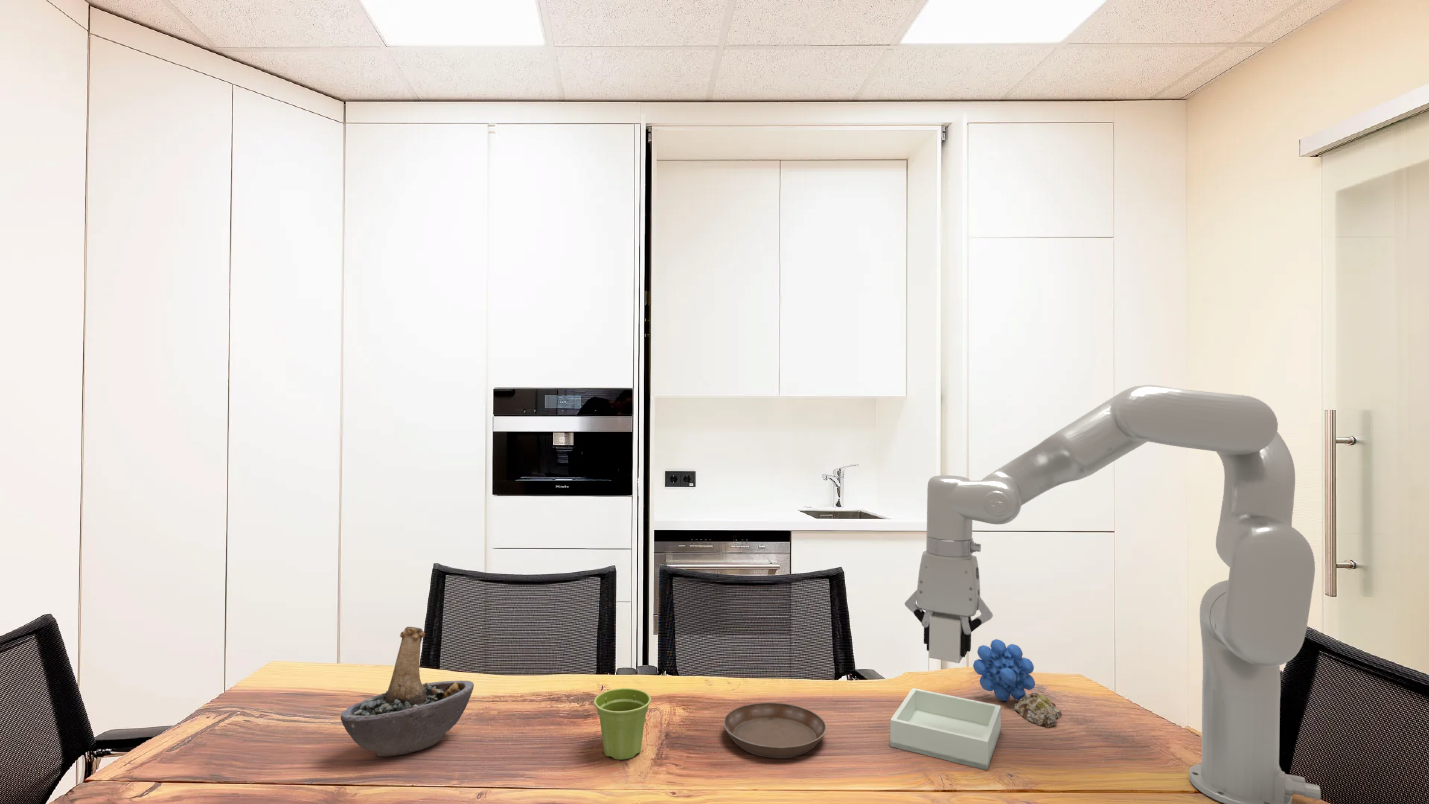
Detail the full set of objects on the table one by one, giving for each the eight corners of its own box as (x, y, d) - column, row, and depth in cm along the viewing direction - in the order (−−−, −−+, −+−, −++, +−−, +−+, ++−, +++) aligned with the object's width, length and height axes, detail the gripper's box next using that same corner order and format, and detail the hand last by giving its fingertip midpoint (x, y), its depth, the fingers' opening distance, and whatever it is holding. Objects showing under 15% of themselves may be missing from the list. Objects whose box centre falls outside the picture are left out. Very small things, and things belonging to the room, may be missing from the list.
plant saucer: (753, 709, 137) (753, 693, 137) (841, 732, 127) (841, 715, 127) (704, 747, 121) (704, 729, 121) (800, 776, 112) (800, 757, 112)
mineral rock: (1007, 690, 141) (1049, 683, 139) (1013, 712, 141) (1055, 704, 139) (1020, 716, 130) (1066, 708, 129) (1026, 740, 130) (1072, 732, 129)
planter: (477, 732, 125) (479, 617, 125) (413, 781, 109) (414, 650, 109) (406, 721, 129) (406, 610, 129) (333, 766, 113) (334, 640, 113)
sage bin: (1000, 731, 128) (1000, 705, 128) (987, 770, 114) (987, 742, 114) (912, 711, 136) (912, 687, 136) (890, 746, 122) (890, 719, 122)
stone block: (964, 654, 126) (965, 614, 126) (959, 663, 122) (959, 622, 122) (935, 649, 128) (936, 609, 128) (929, 657, 124) (929, 617, 124)
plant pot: (596, 769, 113) (597, 714, 113) (590, 741, 123) (591, 690, 122) (655, 761, 116) (655, 708, 116) (645, 735, 125) (645, 685, 125)
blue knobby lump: (977, 708, 137) (978, 645, 137) (970, 693, 144) (970, 634, 144) (1041, 712, 136) (1042, 649, 136) (1030, 697, 143) (1031, 637, 143)
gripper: (1004, 549, 124) (1002, 654, 124) (905, 538, 132) (903, 637, 132) (998, 557, 117) (995, 668, 118) (894, 545, 126) (892, 649, 126)
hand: (946, 650), depth 125 cm, fingers closed on stone block, 5 cm apart
